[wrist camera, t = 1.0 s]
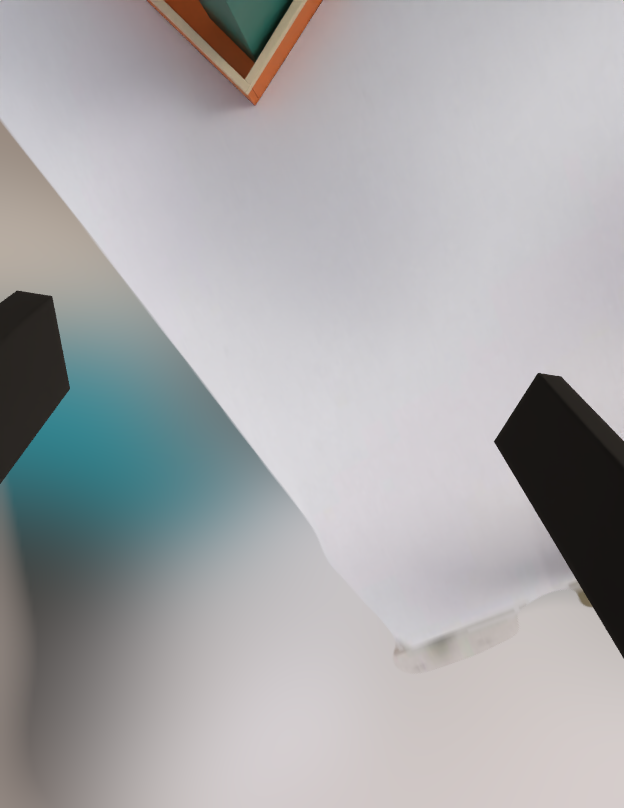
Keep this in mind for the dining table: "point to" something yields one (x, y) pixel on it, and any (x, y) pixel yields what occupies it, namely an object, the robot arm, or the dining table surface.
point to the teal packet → (247, 21)
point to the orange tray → (250, 78)
